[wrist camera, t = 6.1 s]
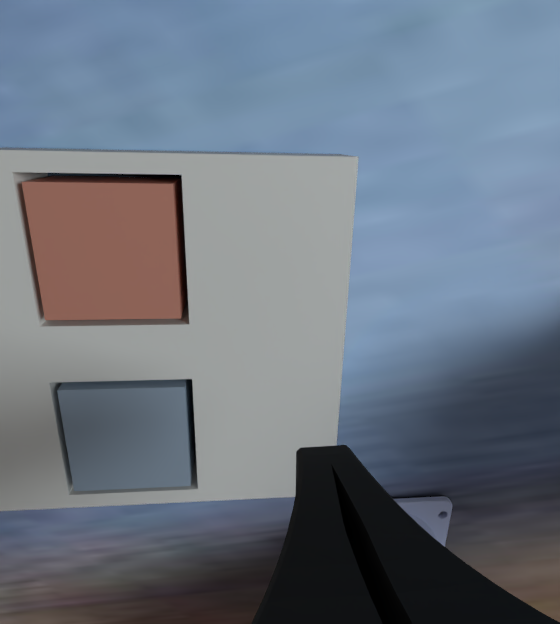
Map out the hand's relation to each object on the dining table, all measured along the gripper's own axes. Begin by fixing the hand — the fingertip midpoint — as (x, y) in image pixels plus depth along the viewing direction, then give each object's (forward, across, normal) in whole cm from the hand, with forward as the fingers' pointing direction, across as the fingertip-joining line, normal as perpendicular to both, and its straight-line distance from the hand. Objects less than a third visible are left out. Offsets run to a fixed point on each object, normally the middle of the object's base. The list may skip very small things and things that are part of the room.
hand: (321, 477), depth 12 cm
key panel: (+10, +7, 0) cm, 12 cm away
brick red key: (+10, +7, -5) cm, 13 cm away
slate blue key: (+10, +7, +4) cm, 13 cm away
